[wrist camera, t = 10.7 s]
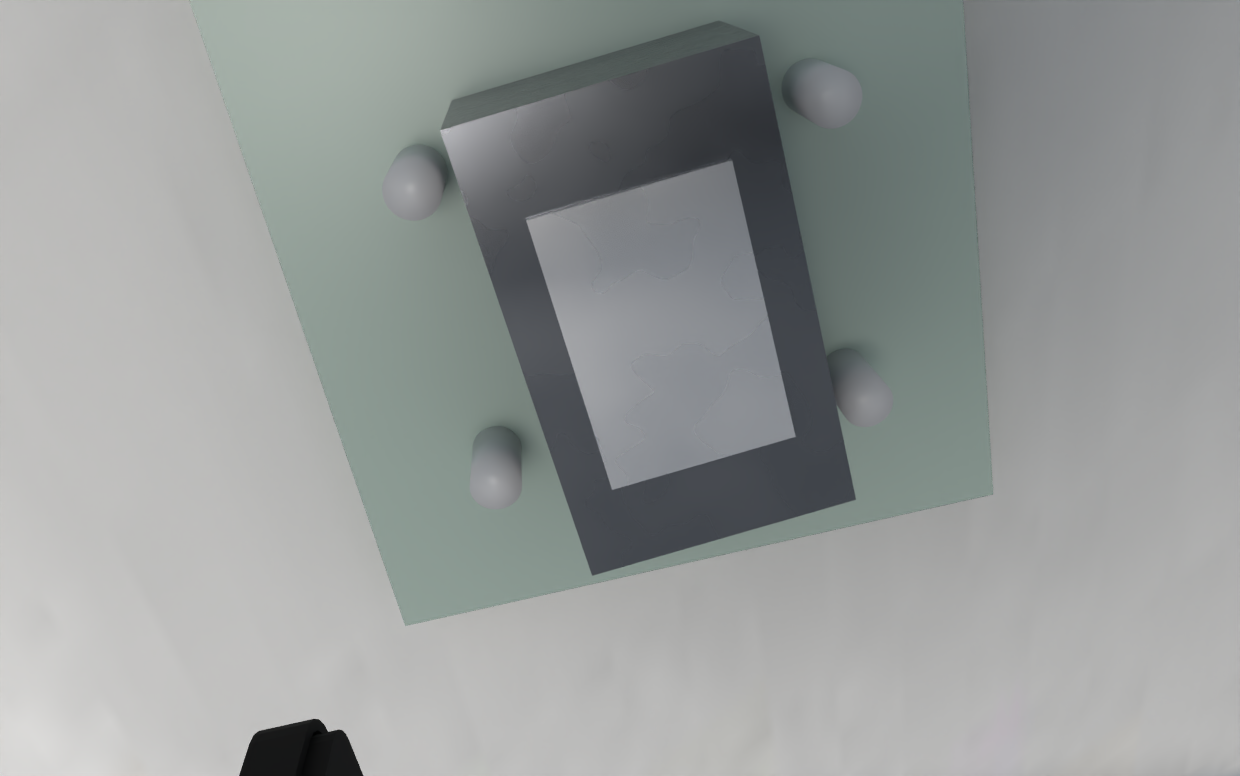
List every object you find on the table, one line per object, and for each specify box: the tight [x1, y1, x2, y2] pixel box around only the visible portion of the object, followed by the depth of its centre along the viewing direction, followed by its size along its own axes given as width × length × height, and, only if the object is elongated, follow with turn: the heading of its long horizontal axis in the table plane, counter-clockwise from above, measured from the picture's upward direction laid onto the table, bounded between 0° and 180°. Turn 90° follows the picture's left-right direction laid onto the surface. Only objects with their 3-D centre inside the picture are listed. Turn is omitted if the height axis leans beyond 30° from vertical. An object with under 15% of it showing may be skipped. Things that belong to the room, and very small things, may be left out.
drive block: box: [440, 21, 856, 576], centre depth 23 cm, size 6×10×4 cm, turn 15°
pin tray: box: [189, 0, 993, 626], centre depth 24 cm, size 16×16×3 cm
